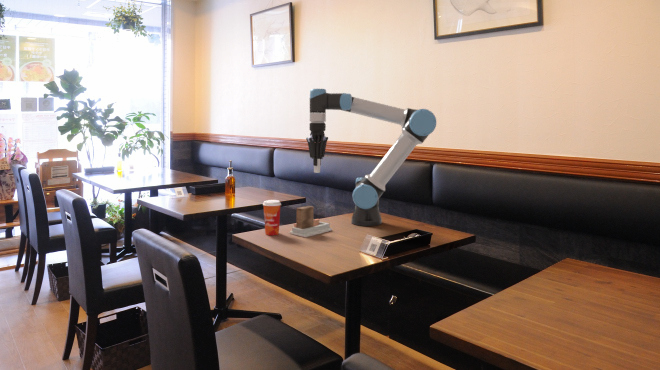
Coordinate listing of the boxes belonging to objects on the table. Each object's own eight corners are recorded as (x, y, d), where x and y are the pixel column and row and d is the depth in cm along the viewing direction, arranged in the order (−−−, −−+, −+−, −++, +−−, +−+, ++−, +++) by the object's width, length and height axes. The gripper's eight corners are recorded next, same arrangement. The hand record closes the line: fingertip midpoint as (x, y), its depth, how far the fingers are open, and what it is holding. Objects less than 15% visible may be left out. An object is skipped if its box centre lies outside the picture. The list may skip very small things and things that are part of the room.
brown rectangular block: (301, 233, 217) (301, 209, 216) (296, 232, 219) (296, 208, 218) (313, 230, 223) (313, 206, 222) (308, 229, 225) (308, 205, 224)
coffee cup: (259, 234, 217) (259, 201, 215) (268, 230, 225) (268, 199, 223) (276, 236, 214) (275, 203, 212) (284, 232, 222) (284, 200, 219)
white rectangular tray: (316, 226, 234) (316, 217, 233) (332, 230, 228) (332, 221, 227) (289, 233, 221) (289, 223, 220) (305, 237, 214) (305, 227, 213)
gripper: (321, 122, 234) (320, 170, 238) (302, 122, 224) (301, 173, 228) (332, 122, 229) (332, 172, 233) (313, 122, 220) (313, 174, 223)
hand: (317, 172), depth 230 cm, fingers closed
